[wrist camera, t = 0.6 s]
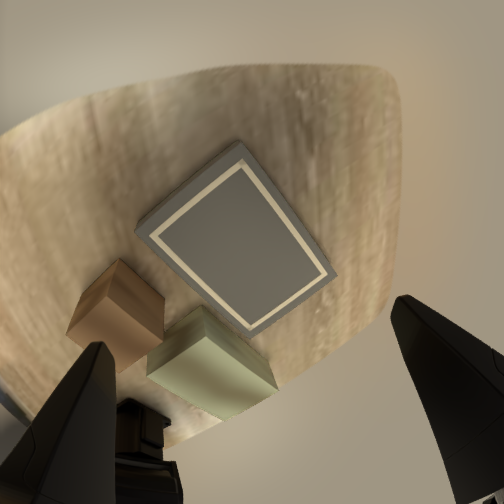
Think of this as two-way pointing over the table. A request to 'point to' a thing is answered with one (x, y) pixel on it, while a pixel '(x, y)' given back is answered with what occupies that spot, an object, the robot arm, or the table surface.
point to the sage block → (210, 366)
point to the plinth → (237, 242)
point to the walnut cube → (119, 315)
